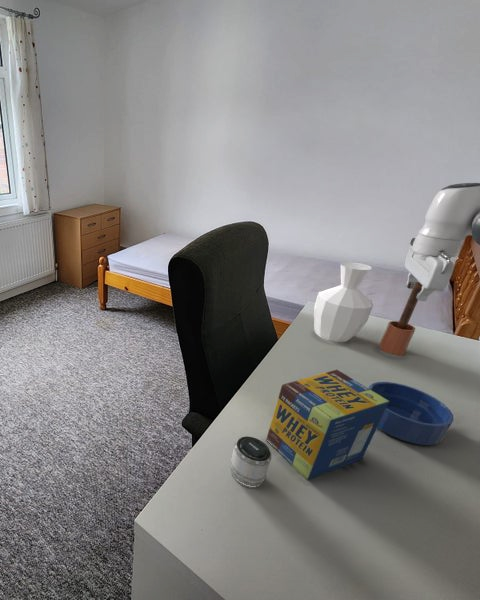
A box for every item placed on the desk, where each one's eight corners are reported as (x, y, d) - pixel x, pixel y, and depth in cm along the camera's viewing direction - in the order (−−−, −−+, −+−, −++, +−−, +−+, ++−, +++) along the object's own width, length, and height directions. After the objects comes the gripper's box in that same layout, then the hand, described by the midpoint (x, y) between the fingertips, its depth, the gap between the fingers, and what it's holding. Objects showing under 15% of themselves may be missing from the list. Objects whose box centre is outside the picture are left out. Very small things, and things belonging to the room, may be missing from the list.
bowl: (428, 412, 81) (439, 392, 78) (452, 456, 69) (466, 435, 67) (355, 394, 87) (362, 375, 84) (366, 432, 76) (375, 411, 73)
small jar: (241, 456, 70) (248, 428, 67) (270, 479, 66) (279, 450, 62) (222, 471, 67) (228, 442, 64) (251, 496, 63) (259, 466, 59)
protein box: (264, 440, 74) (280, 383, 68) (317, 423, 78) (337, 368, 72) (307, 481, 65) (330, 420, 59) (364, 459, 69) (392, 400, 63)
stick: (394, 348, 104) (423, 282, 95) (396, 352, 103) (426, 285, 94) (386, 347, 105) (414, 281, 96) (388, 350, 104) (416, 283, 94)
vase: (300, 336, 113) (321, 265, 102) (313, 322, 122) (334, 255, 111) (352, 354, 103) (381, 277, 93) (362, 337, 112) (390, 265, 101)
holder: (400, 348, 105) (412, 323, 102) (406, 358, 101) (418, 332, 97) (376, 344, 108) (386, 319, 104) (380, 353, 103) (391, 328, 99)
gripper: (469, 259, 81) (444, 310, 87) (437, 239, 97) (418, 283, 103) (434, 255, 83) (412, 305, 89) (409, 236, 100) (391, 280, 106)
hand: (415, 293), depth 96 cm, fingers open, 8 cm apart
